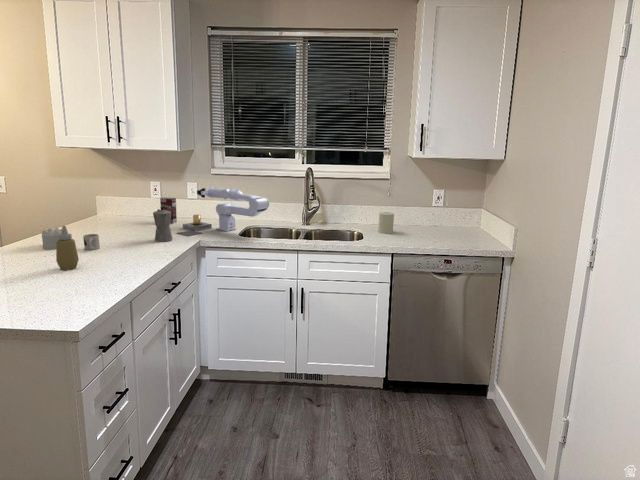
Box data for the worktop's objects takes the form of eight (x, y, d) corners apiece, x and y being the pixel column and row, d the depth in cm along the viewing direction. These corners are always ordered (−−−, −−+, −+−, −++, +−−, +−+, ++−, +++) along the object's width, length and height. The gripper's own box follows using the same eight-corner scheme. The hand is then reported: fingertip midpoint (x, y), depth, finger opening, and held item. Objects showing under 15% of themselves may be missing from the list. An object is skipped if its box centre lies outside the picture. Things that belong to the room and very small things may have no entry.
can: (392, 230, 278) (393, 211, 276) (393, 233, 269) (394, 214, 267) (377, 230, 279) (378, 211, 276) (378, 233, 270) (379, 213, 268)
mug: (85, 247, 220) (84, 234, 218) (100, 246, 222) (99, 233, 221) (82, 252, 211) (81, 238, 209) (98, 251, 213) (97, 238, 211)
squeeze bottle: (74, 264, 191) (70, 223, 187) (82, 268, 186) (78, 226, 182) (53, 268, 185) (49, 225, 181) (62, 272, 180) (57, 228, 176)
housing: (211, 228, 272) (211, 224, 271) (195, 231, 263) (195, 226, 262) (199, 225, 279) (199, 221, 278) (182, 228, 270) (182, 224, 269)
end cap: (202, 228, 271) (202, 215, 269) (196, 229, 268) (196, 216, 266) (198, 227, 274) (197, 214, 272) (192, 228, 270) (191, 215, 269)
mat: (202, 233, 257) (202, 232, 257) (187, 236, 249) (187, 235, 249) (191, 230, 263) (191, 230, 263) (176, 233, 255) (176, 232, 255)
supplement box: (161, 222, 284) (159, 198, 280) (165, 221, 288) (164, 197, 285) (172, 224, 281) (171, 198, 278) (177, 222, 286) (176, 197, 282)
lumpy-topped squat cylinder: (43, 250, 212) (41, 232, 210) (42, 244, 223) (40, 227, 221) (68, 248, 218) (66, 230, 216) (66, 242, 228) (64, 226, 226)
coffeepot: (176, 241, 236) (174, 207, 232) (157, 243, 231) (155, 209, 227) (168, 236, 249) (166, 203, 244) (150, 237, 243) (148, 204, 239)
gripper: (226, 186, 274) (211, 185, 282) (208, 186, 262) (192, 185, 270) (226, 197, 275) (211, 196, 283) (208, 198, 263) (193, 197, 271)
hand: (202, 192), depth 276 cm, fingers open, 7 cm apart
